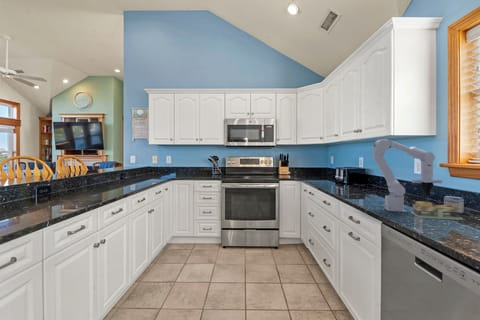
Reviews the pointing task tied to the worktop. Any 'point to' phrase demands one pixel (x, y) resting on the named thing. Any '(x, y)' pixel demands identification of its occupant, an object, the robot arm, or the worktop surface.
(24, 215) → the worktop surface
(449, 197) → the medicine box
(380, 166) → the robot arm
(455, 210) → the flat elongated piece
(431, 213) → the stand
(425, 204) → the slider
